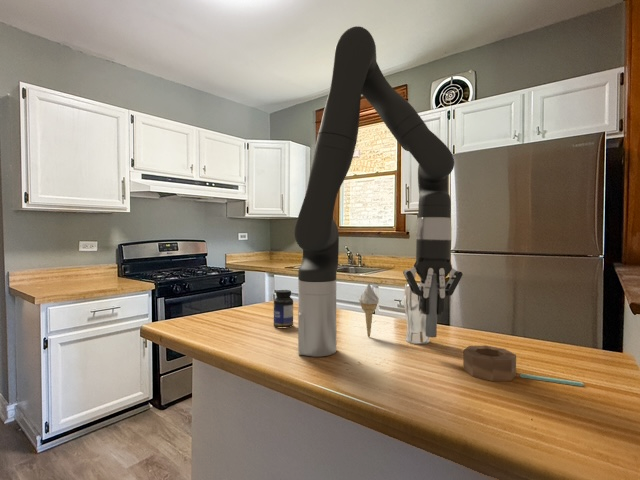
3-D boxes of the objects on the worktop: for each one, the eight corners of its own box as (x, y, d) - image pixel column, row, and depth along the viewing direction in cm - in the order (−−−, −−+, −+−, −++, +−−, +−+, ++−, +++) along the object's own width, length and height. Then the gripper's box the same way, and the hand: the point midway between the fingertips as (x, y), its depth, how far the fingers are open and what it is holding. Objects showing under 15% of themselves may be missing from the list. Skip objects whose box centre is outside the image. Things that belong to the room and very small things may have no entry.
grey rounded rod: (427, 337, 78) (429, 269, 78) (423, 334, 81) (425, 268, 80) (438, 337, 78) (440, 270, 78) (433, 334, 81) (435, 269, 81)
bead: (479, 381, 66) (479, 360, 66) (457, 364, 75) (457, 346, 75) (524, 380, 67) (524, 359, 67) (497, 363, 76) (497, 345, 76)
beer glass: (432, 345, 88) (432, 286, 88) (404, 344, 90) (404, 286, 90) (429, 338, 95) (429, 283, 95) (403, 336, 96) (403, 282, 96)
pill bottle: (270, 325, 109) (270, 290, 109) (286, 322, 113) (286, 288, 113) (279, 329, 104) (279, 292, 104) (297, 326, 108) (297, 291, 108)
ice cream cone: (356, 338, 95) (356, 283, 95) (361, 333, 100) (361, 281, 100) (376, 340, 93) (376, 284, 93) (381, 335, 98) (381, 282, 98)
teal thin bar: (520, 377, 68) (520, 374, 68) (520, 375, 69) (520, 373, 69) (583, 386, 64) (583, 383, 64) (582, 385, 64) (582, 382, 64)
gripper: (409, 237, 75) (407, 317, 75) (471, 238, 76) (469, 317, 76) (398, 237, 82) (396, 310, 83) (455, 238, 84) (453, 310, 84)
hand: (431, 313), depth 79 cm, fingers closed on grey rounded rod, 2 cm apart
